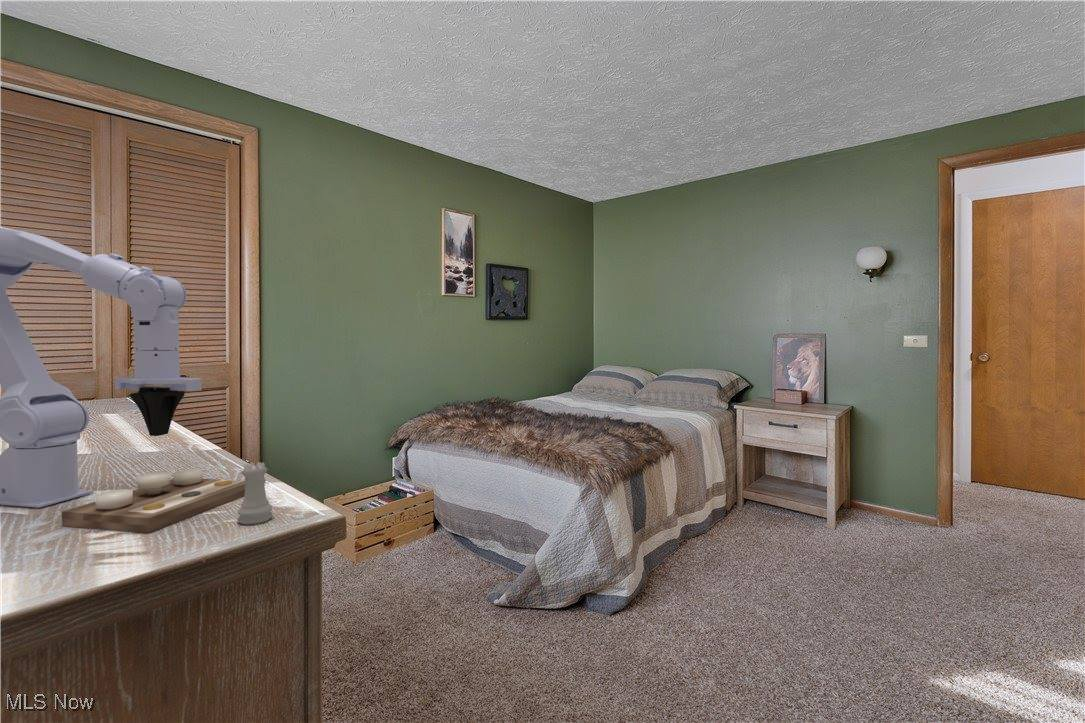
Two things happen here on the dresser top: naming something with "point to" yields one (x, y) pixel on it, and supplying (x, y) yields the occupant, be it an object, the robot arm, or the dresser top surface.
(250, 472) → the rook chess piece
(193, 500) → the board
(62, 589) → the dresser top surface
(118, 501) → the button near
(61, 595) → the dresser top surface
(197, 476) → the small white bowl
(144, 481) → the button mid
